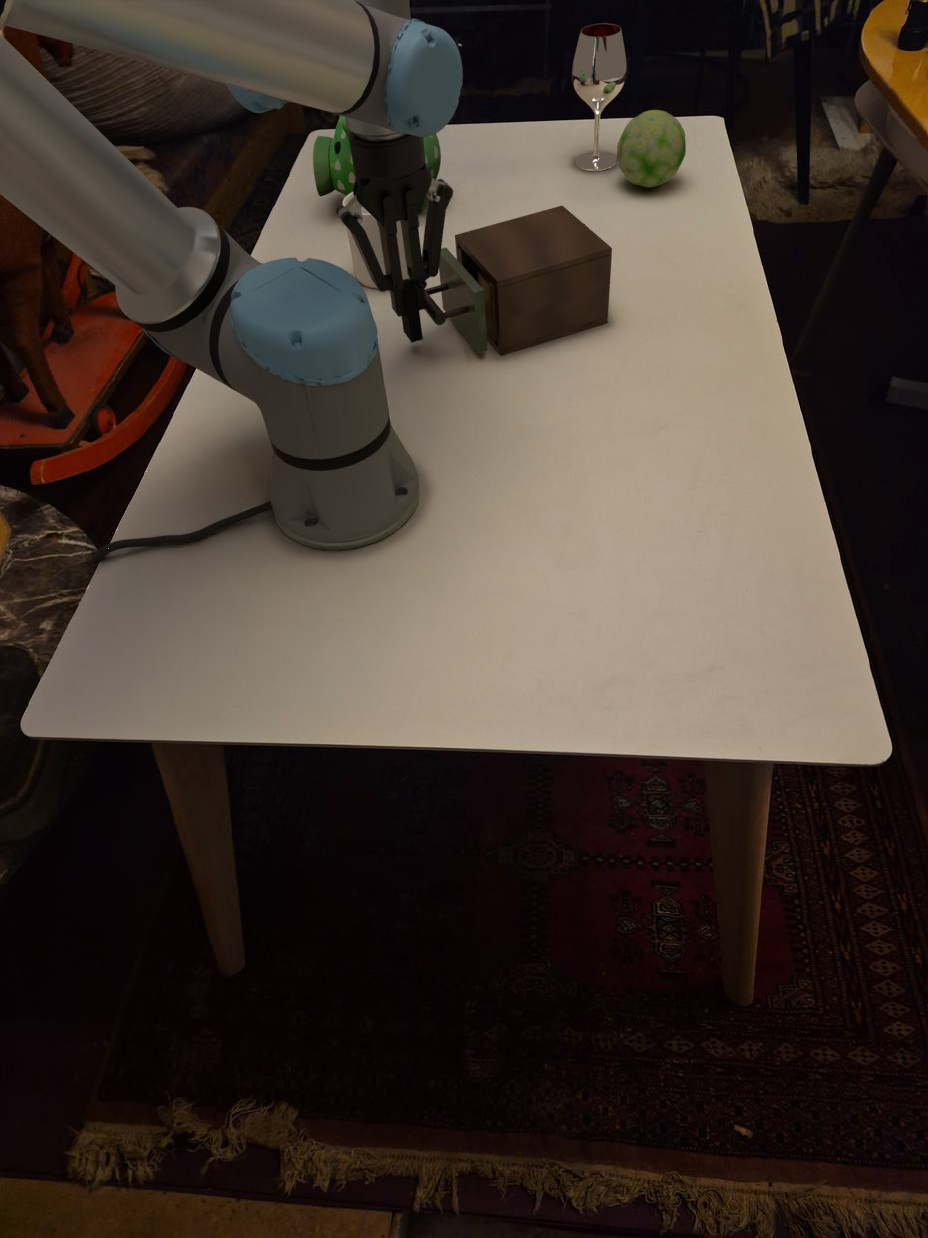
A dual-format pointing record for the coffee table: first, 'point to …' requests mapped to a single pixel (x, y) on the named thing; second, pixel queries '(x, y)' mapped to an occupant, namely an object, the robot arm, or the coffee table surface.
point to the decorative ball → (651, 148)
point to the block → (485, 290)
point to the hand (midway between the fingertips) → (413, 335)
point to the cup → (374, 238)
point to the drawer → (463, 299)
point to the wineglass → (599, 80)
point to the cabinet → (542, 276)
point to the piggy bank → (337, 162)
